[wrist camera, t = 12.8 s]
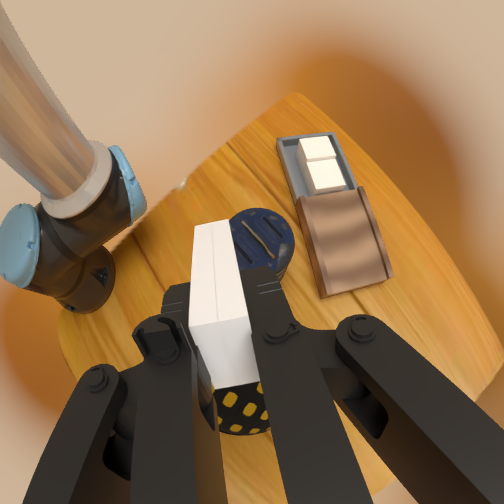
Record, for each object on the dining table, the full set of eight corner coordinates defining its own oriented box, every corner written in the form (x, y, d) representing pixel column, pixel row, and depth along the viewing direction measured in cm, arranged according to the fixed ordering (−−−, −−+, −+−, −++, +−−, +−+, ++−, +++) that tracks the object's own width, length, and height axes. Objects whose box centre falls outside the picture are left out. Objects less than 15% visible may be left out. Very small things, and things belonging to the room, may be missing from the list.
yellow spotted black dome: (198, 316, 40) (319, 384, 37) (208, 320, 49) (307, 377, 46) (145, 403, 36) (261, 470, 33) (163, 393, 45) (260, 449, 42)
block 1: (336, 155, 52) (327, 135, 53) (307, 159, 51) (299, 138, 53) (329, 171, 57) (321, 152, 59) (302, 175, 57) (295, 156, 58)
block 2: (339, 197, 56) (345, 184, 51) (311, 201, 55) (316, 189, 50) (329, 172, 57) (335, 158, 52) (302, 176, 57) (306, 162, 52)
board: (382, 282, 51) (394, 276, 46) (320, 299, 50) (327, 294, 45) (355, 197, 56) (362, 185, 51) (295, 208, 55) (299, 196, 51)
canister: (268, 236, 54) (275, 189, 37) (292, 282, 51) (311, 253, 34) (221, 258, 53) (205, 219, 35) (243, 306, 50) (238, 288, 33)
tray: (354, 196, 56) (359, 189, 53) (295, 206, 56) (297, 199, 53) (330, 139, 61) (333, 131, 58) (275, 146, 60) (276, 138, 57)
